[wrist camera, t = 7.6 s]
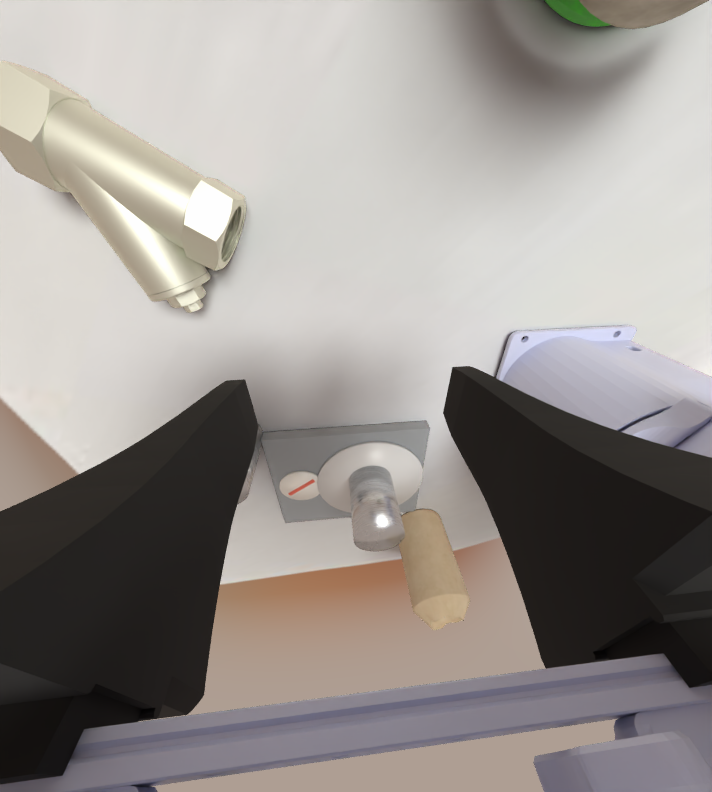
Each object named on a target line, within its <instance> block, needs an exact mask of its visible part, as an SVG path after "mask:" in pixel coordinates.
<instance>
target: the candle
mask: <svg viewBox="0 0 712 792" xmlns="http://www.w3.org/2000/svg"><path fill="white" fill-rule="evenodd" d="M401 518H402V522H403V526H404V531H405V538H404V539H403V541H402V542H401V543H400V544H399V547H400V552H401V556H402V561H403V566H404V570H405V575H406V579H407V585H408V589H409V593H410V598H411V603H412V608H413V612H414V613H415V614H416V615H417V616H419V618H421V619H422V620H423V621H424V622H425V623H426V624H427V625H428V626H429V627H430V628H431V629H432V630H437V629H441V628H443V627H444V626H445V624H448V623H452V622H455V623H456V622H459V621H461V620H463V621H464V617H465V614H466V611H467V608H468V606H469V602H470V598H469V595H468V592H467V589H466V587H465V584H464V581H463V578H462V576H461V573H460V570H459V567H458V565H457V562H456V559H455V556H454V554H453V551H452V548H451V545H450V542H449V540H448V537H447V534H446V531H445V529H444V526H443V523H442V521H441V518H440V516H439V515H438V513H436V512H435V511H432V510H428V509H419V510H415V511H411V512H408V513H406V514H404V515H402V516H401Z"/></svg>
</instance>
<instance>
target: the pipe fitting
mask: <svg viewBox="0 0 712 792" xmlns="http://www.w3.org/2000/svg"><path fill="white" fill-rule="evenodd" d="M0 151H1V152H2V154H3V155H4V157H5V158H6V159H7V160H8V162H9V163H10V164H11V166H12V167H13V168H14V169H15V171H16V172H18V173H20V174H22V175H24V176H26V177H28V178H30V179H32V180H34V181H36V182H38V183H40V184H42V185H44V186H46V187H48V188H50V189H52V190H54V191H58V192H71V194H72V195H73V196H74V198H75V199H76V200H77V202H78V203H79V204H80V206H81V207H82V208H83V210H84V211H85V212H86V214H87V215H88V216H89V218H90V219H91V220H92V222H93V223H94V225H95V226H96V227H97V229H98V230H99V231H100V233H101V234H102V235H103V237H104V238H105V239H106V241H107V242H108V243H109V245H110V246H111V247H112V249H113V250H114V251H115V253H116V254H117V256H118V257H119V258H120V260H121V261H122V262H123V264H124V265H125V266H126V268H127V269H128V270H129V272H130V273H131V274H132V276H133V277H134V278H135V280H136V281H137V282H138V284H139V285H140V286H141V288H142V289H143V290H144V292H145V293H146V294H147V296H148V297H149V299H150V300H151V301H153V302H157V301H162V300H166V299H167V301H168V302H169V303H170V305H171V306H172V307H173V308H181V307H184V309H185V310H186V312H187V313H192V312H195V311H197V310H199V309H201V308H202V307H203V304H202V302H201V301H200V299H202V298H203V297H204V296H205V294H206V292H205V290H204V288H203V287H202V284H204V283H205V282H207V281H208V280H209V279H210V274H209V273H208V271H207V269H206V268H205V266H206V267H208V268H210V269H212V270H214V271H216V270H220V269H222V268H224V267H225V266H226V265H227V264H228V262H229V260H230V259H231V257H232V255H233V253H234V251H235V249H236V246H237V244H238V241H239V238H240V235H241V232H242V228H243V224H244V220H245V214H246V202H245V196H243V195H242V194H240V193H239V192H237V191H235V190H234V189H232V188H230V187H229V186H227V185H226V184H224V183H222V182H221V181H219V180H217V179H213V178H205V177H204V176H202V175H200V174H199V173H197V172H195V171H194V170H192V169H191V168H189V167H187V166H186V165H184V164H182V163H181V162H179V161H177V160H176V159H174V158H172V157H171V156H169V155H167V154H166V153H164V152H163V151H161V150H159V149H158V148H156V147H154V146H153V145H151V144H149V143H148V142H146V141H144V140H143V139H141V138H139V137H138V136H136V135H134V134H133V133H131V132H130V131H128V130H126V129H125V128H123V127H121V126H120V125H118V124H116V123H115V122H113V121H111V120H110V119H108V118H106V117H105V116H103V115H102V114H100V113H98V112H97V111H95V110H93V109H92V107H91V105H90V103H89V101H88V100H87V99H85V98H84V97H82V96H80V95H79V94H77V93H75V92H74V91H72V90H71V89H69V88H67V87H66V86H64V85H62V84H61V83H59V82H57V81H56V80H54V79H53V78H51V77H49V76H47V75H45V74H42V73H40V72H37V71H35V70H32V69H29V68H27V67H24V66H21V65H18V64H15V63H11V62H7V61H1V62H0Z"/></svg>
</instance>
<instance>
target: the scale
mask: <svg viewBox="0 0 712 792" xmlns="http://www.w3.org/2000/svg"><path fill="white" fill-rule="evenodd" d="M429 431H430V427H429V425H428V423H427V421H415V422H401V423H387V424H373V425H359V426H345V427H331V428H317V429H303V430H289V431H275V432H263V435H262V439H261V442H262V446H263V449H264V453H265V456H266V459H267V463H268V466H269V470H270V473H271V476H272V480H273V483H274V486H275V490H276V493H277V497H278V500H279V503H280V507H281V510H282V514H283V517H284V520H285V523H291V522H302V521H312V520H323V519H334V518H345V517H352V513H351V501H350V490H349V478H350V476H351V474H352V473H353V472H354V471H356V470H357V469H359V468H362V467H365V466H370V465H375V466H381V467H384V468H386V469H387V470H388V471H389V472H390V474H391V477H392V481H393V485H394V489H395V494H396V498H397V502H398V506H399V510H400V512H411V511H415V509H416V503H417V498H418V492H419V487H420V485H421V483H422V479H423V464H424V459H425V453H426V447H427V442H428V436H429Z"/></svg>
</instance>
